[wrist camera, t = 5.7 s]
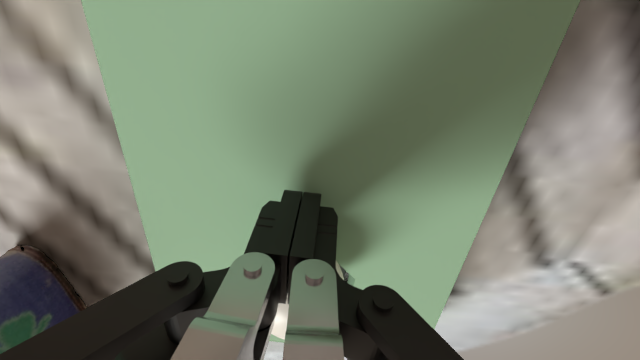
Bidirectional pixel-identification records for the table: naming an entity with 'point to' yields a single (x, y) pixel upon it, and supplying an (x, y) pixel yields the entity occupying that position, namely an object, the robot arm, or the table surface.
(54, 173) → the table surface
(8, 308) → the flask
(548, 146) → the table surface
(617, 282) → the table surface
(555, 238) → the table surface
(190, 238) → the board
